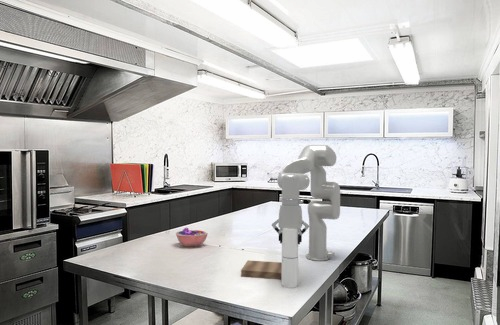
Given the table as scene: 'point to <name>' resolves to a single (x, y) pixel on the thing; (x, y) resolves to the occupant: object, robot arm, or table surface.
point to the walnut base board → (262, 269)
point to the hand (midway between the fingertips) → (290, 242)
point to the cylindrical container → (289, 258)
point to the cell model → (191, 237)
